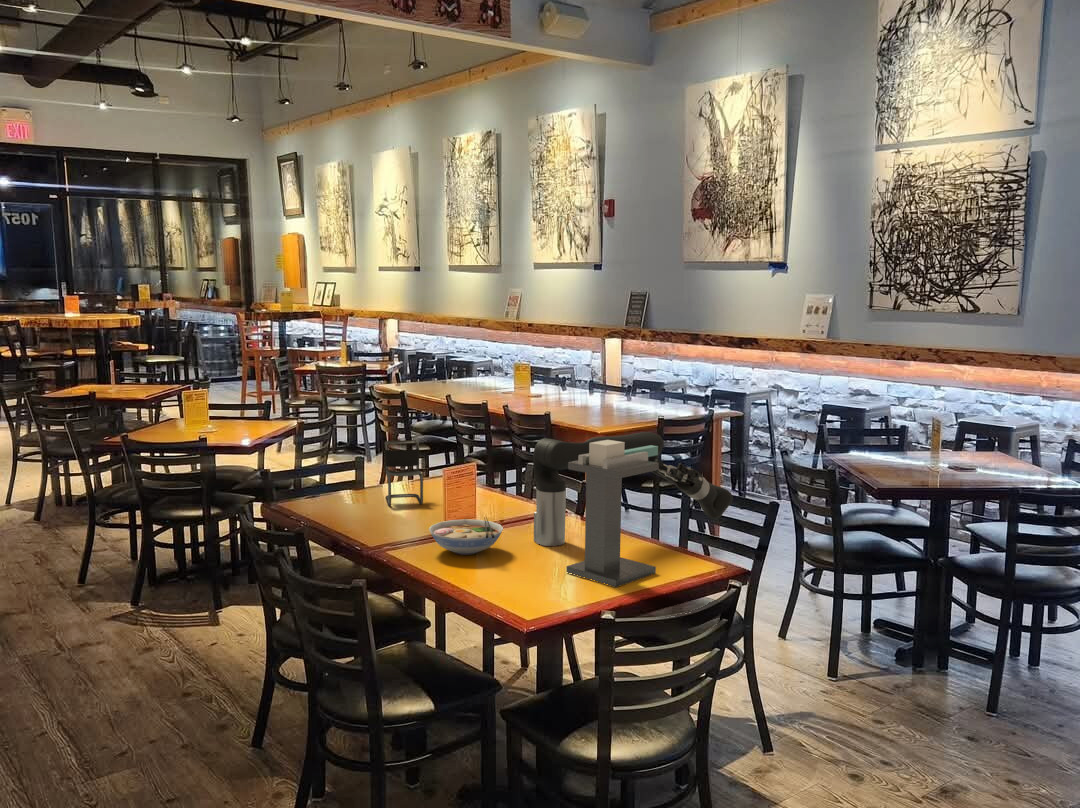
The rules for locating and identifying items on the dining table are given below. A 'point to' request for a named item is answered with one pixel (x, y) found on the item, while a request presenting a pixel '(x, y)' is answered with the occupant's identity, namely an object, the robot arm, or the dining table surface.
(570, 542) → the dining table surface
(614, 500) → the stand
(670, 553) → the dining table surface
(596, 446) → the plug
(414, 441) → the chair
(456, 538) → the ramen bowl
